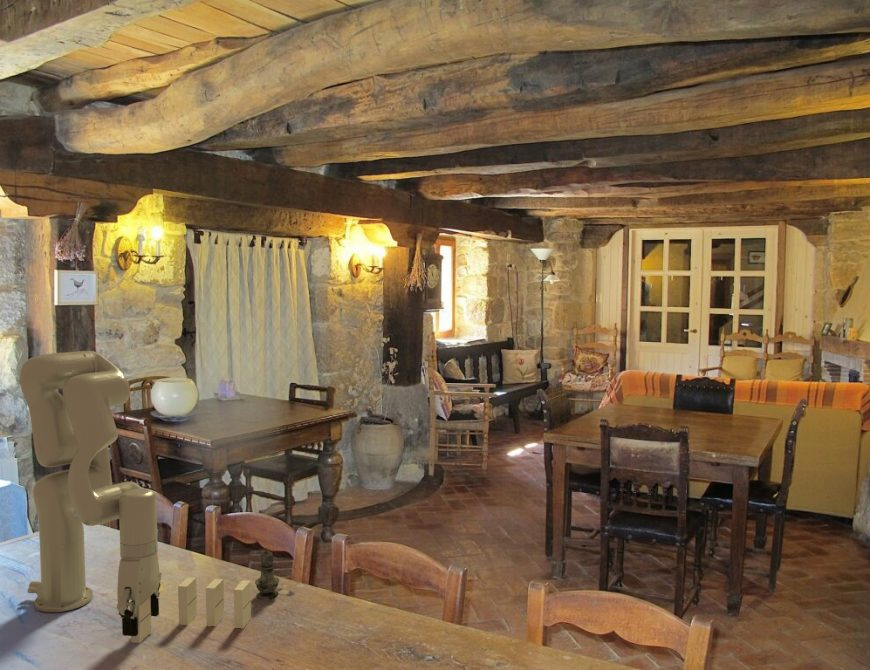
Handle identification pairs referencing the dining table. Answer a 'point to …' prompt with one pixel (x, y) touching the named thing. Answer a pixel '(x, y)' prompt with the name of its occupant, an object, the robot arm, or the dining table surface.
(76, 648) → the dining table surface
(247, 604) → the domino
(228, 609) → the dining table surface
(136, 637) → the domino
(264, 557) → the dark chess piece
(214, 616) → the domino
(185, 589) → the domino
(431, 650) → the dining table surface
